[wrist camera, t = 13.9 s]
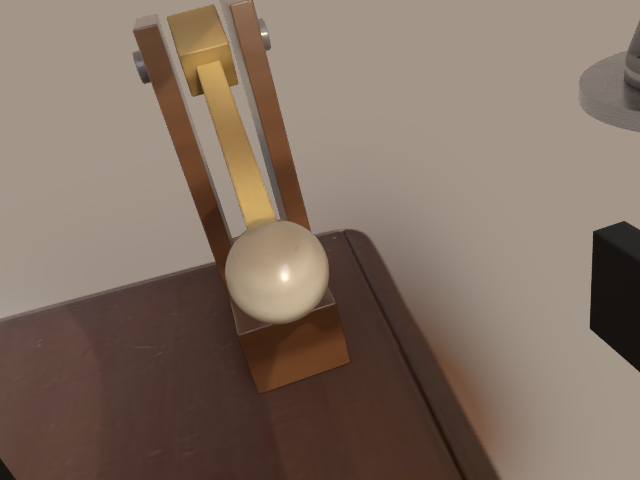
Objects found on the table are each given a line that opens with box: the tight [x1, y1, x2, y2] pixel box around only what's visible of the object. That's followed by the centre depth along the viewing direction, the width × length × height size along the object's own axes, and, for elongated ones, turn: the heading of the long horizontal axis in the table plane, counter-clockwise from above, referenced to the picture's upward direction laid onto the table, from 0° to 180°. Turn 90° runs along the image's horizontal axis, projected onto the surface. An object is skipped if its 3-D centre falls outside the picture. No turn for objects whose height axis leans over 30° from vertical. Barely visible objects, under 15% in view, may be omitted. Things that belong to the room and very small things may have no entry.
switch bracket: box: [133, 0, 350, 394], centre depth 29 cm, size 10×6×18 cm, turn 15°
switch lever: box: [167, 5, 329, 324], centre depth 22 cm, size 15×4×4 cm
